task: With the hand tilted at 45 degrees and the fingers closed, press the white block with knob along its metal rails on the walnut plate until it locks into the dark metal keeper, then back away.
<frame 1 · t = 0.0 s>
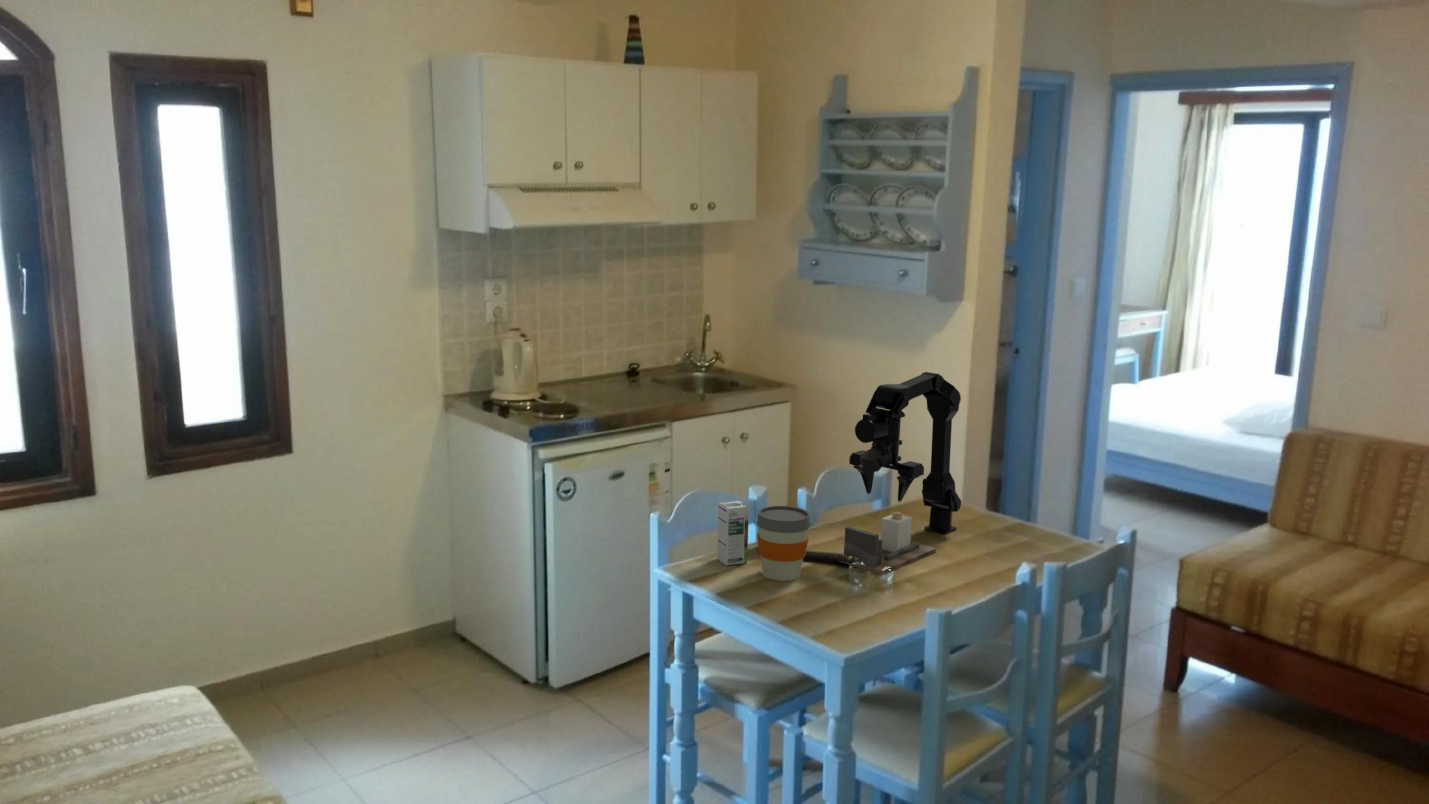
hand: (884, 497, 271), 15 cm above the table, tool pointing down, fingers open, 9 cm apart
syrup box: (731, 561, 266), on the table
lock plate: (885, 556, 272), on the table
reusable coffee cup: (781, 574, 258), on the table
white block with knob: (896, 530, 274), point 6 cm above the table, slide at 0.0 cm
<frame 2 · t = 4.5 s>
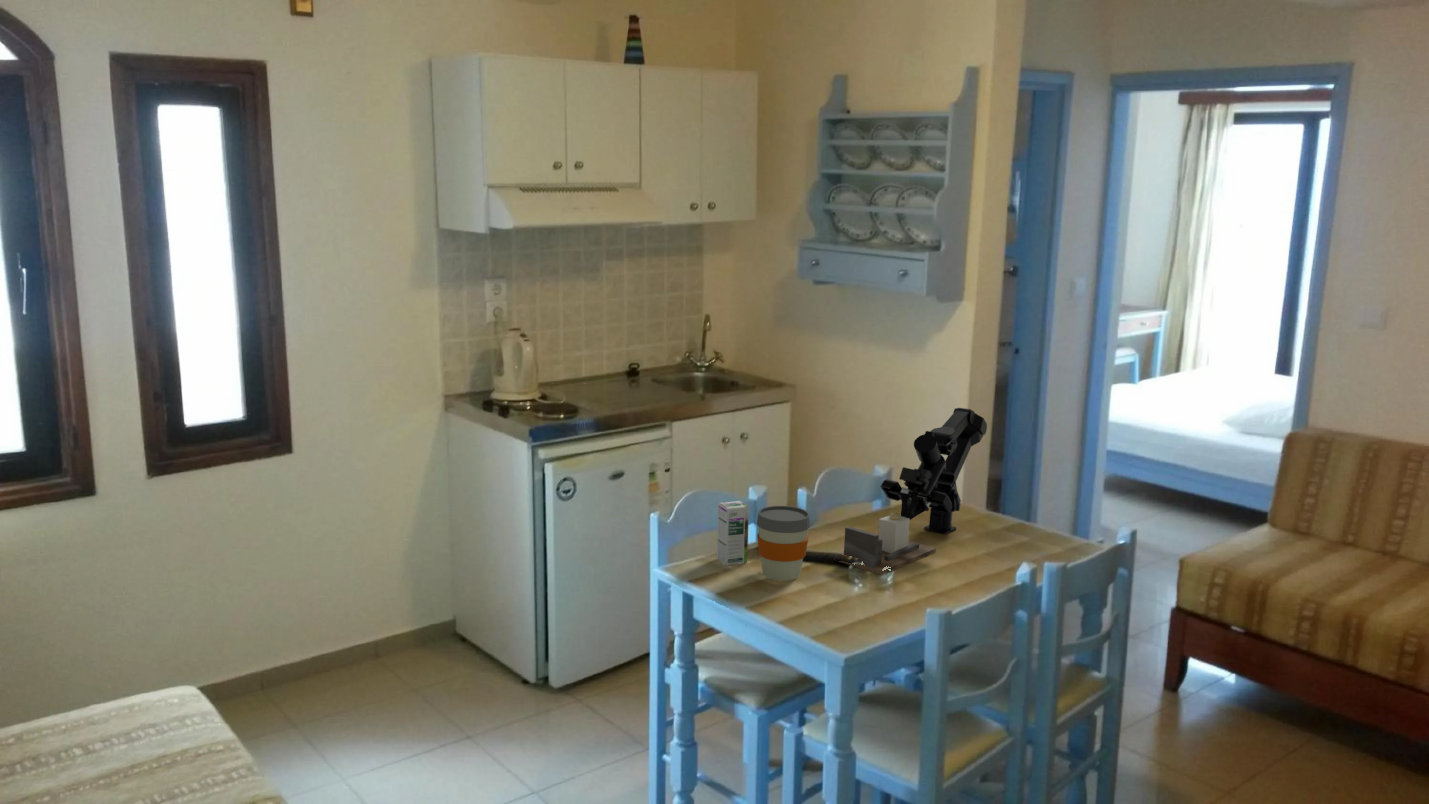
hand: (901, 523, 275), 7 cm above the table, tool tilted 45°, fingers closed, pressing on white block with knob
white block with knob: (893, 531, 273), point 6 cm above the table, slide at 1.1 cm, touching gripper
everything else where it was.
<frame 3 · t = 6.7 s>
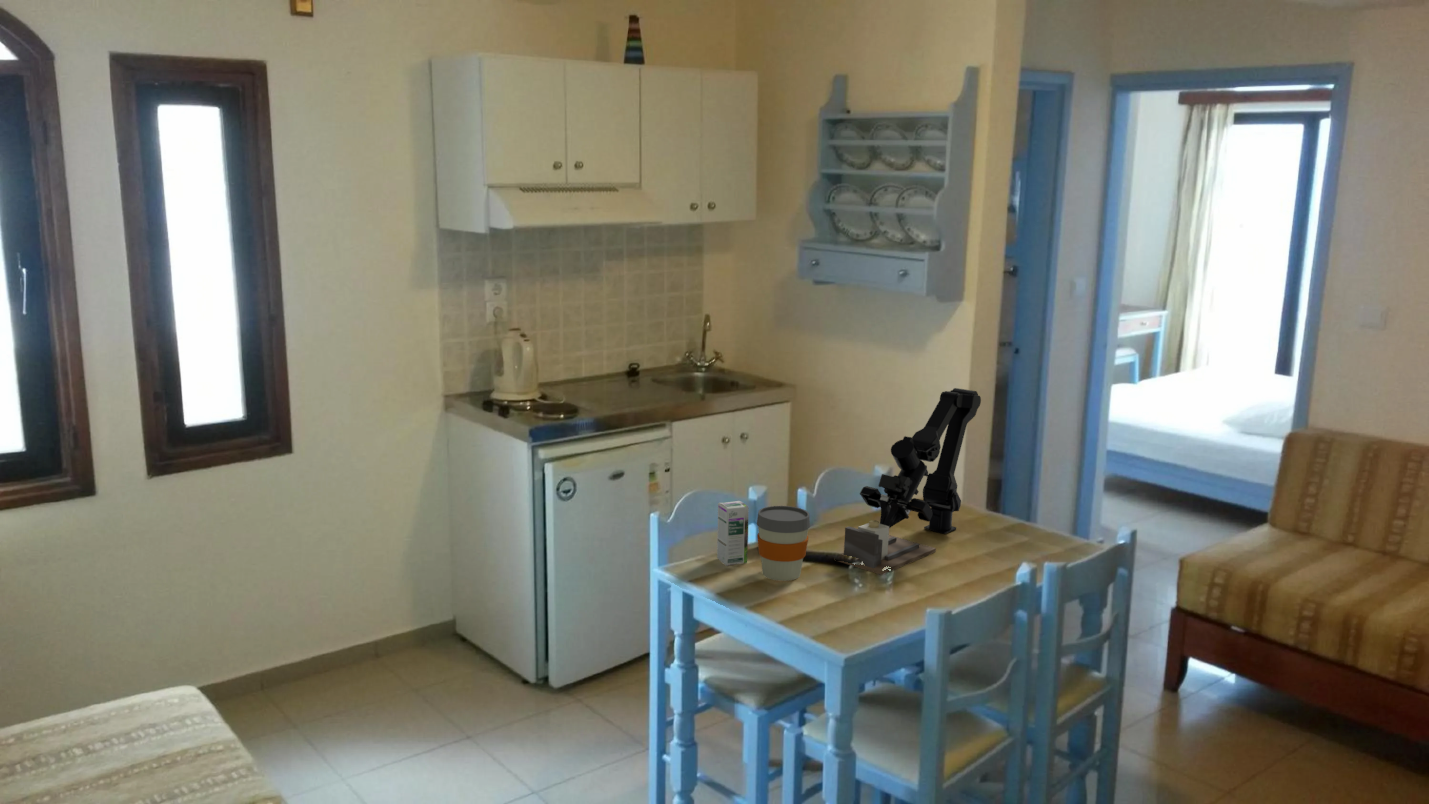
hand: (880, 531, 269), 7 cm above the table, tool tilted 45°, fingers closed, pressing on white block with knob
white block with knob: (872, 539, 267), point 6 cm above the table, slide at 10.2 cm, touching gripper
everything else where it was.
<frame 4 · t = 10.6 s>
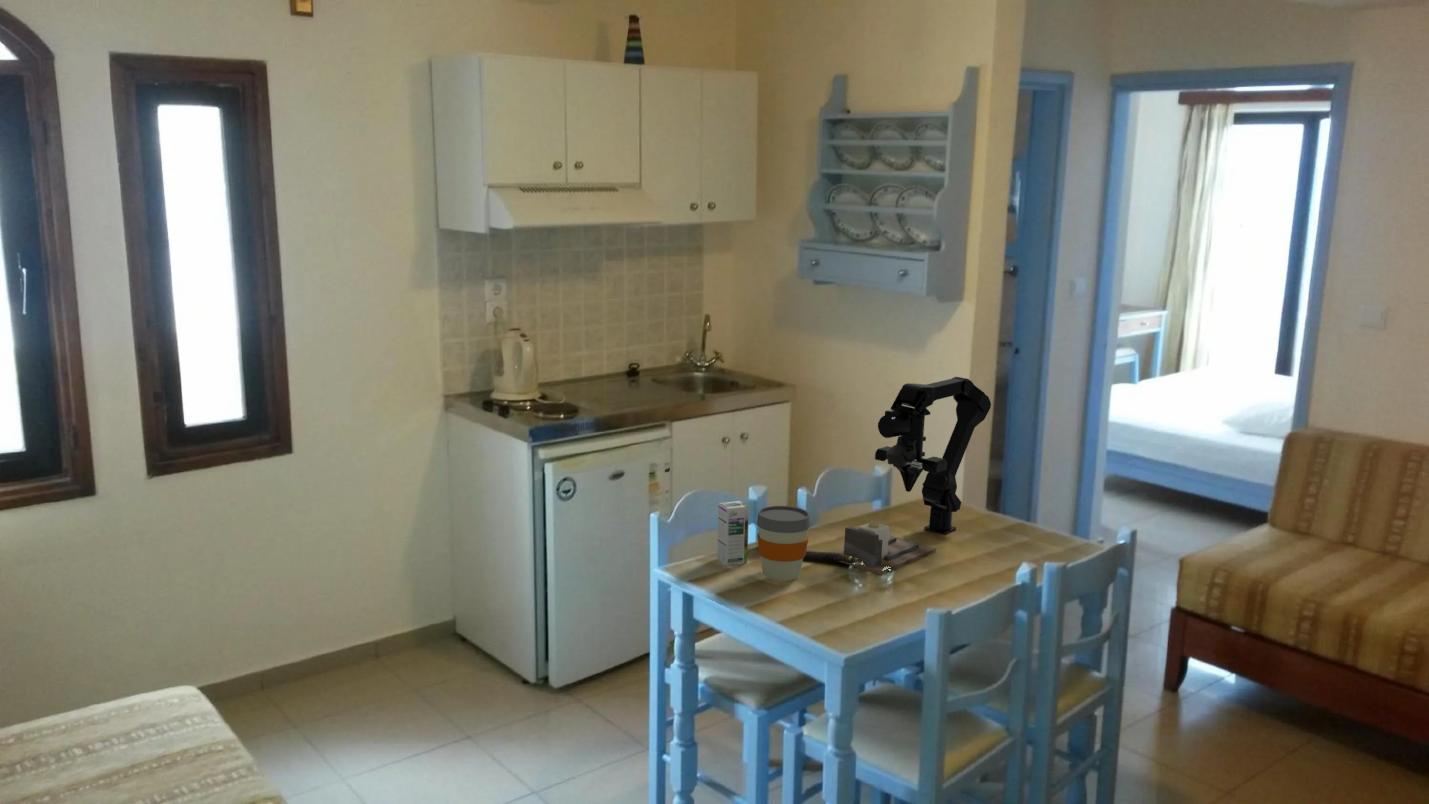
hand: (908, 491, 283), 13 cm above the table, tool pointing down, fingers closed
white block with knob: (872, 539, 267), point 6 cm above the table, slide at 10.2 cm
everything else where it was.
at the end: white block with knob slide at 10.2 cm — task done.
